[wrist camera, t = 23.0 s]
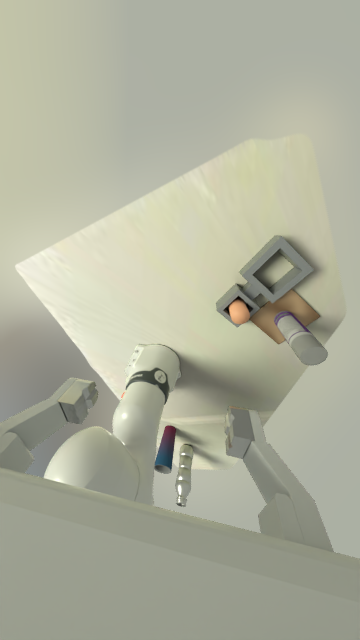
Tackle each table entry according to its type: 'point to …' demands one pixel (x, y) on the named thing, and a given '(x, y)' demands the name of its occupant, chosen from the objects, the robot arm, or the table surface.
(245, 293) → the housing
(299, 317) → the pad
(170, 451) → the cup
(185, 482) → the plastic bottle
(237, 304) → the peach cylinder
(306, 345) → the container
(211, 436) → the table surface
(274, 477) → the robot arm
